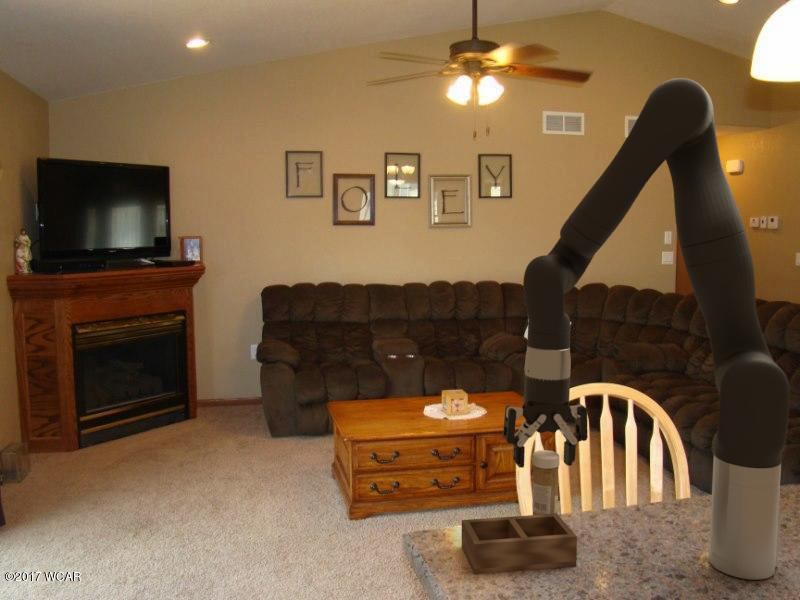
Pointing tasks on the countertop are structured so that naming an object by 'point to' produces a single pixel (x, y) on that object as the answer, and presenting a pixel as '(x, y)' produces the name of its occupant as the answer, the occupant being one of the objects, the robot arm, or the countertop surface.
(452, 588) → the countertop surface
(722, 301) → the robot arm
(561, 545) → the spice caddy
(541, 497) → the sprinkles bottle
